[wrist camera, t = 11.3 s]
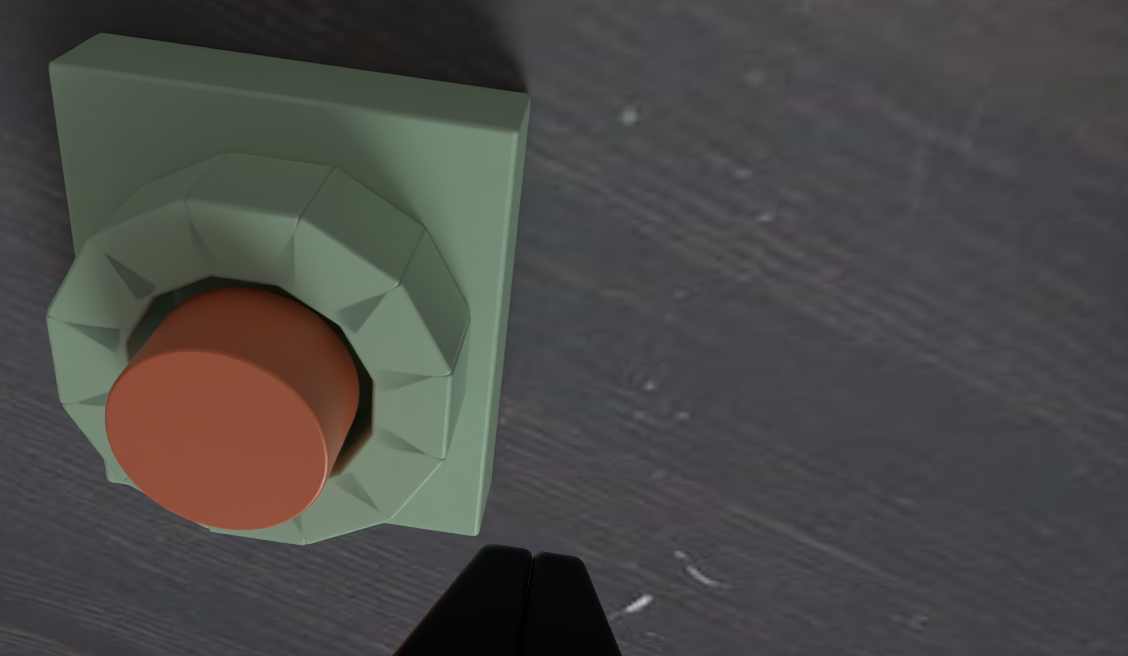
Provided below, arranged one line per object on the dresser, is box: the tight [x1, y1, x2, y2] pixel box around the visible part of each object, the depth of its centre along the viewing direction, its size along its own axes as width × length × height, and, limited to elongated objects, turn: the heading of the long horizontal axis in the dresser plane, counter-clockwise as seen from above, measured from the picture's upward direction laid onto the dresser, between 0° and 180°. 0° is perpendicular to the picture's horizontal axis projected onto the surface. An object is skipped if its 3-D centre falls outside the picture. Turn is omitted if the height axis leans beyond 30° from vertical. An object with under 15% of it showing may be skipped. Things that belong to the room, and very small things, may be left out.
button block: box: [46, 33, 531, 545], centre depth 17 cm, size 7×8×4 cm
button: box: [105, 287, 360, 530], centre depth 16 cm, size 3×3×2 cm
